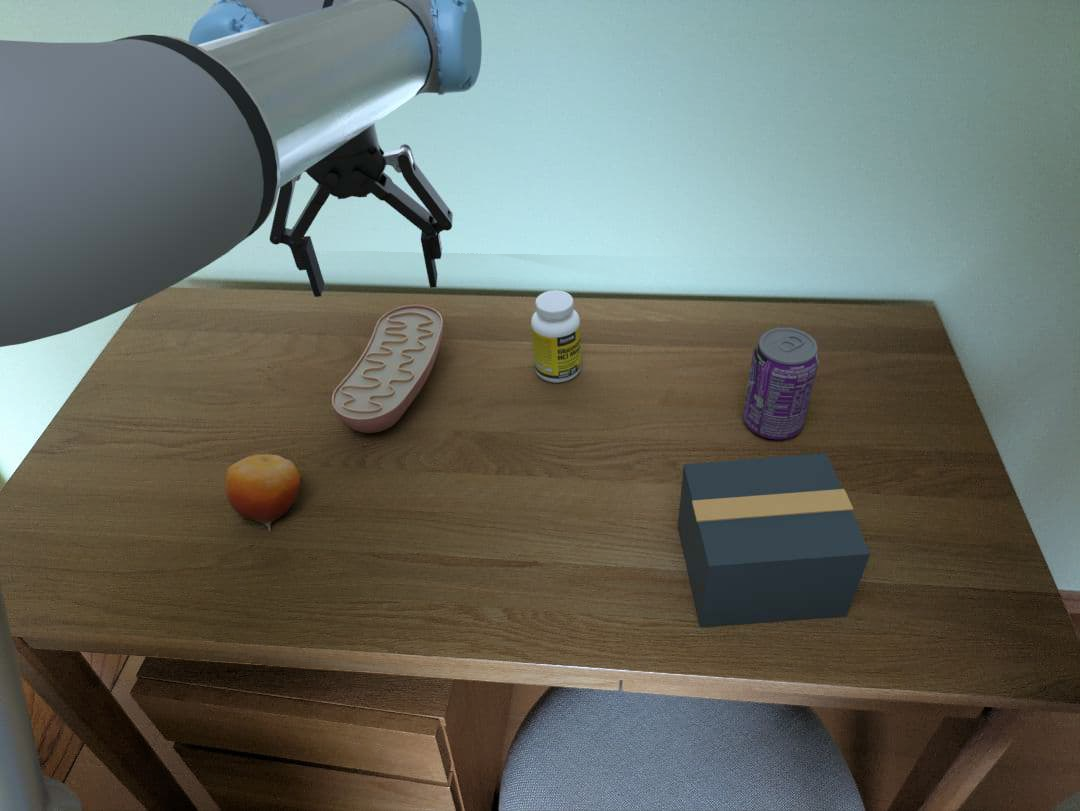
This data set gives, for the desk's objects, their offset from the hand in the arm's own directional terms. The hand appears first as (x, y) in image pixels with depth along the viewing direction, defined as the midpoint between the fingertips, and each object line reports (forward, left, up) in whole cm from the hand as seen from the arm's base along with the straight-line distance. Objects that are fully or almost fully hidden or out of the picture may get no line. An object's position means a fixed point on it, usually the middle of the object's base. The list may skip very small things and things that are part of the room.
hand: (376, 285), depth 92 cm
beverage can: (+46, -12, -16) cm, 50 cm away
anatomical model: (0, 0, -16) cm, 16 cm away
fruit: (-13, -19, -16) cm, 28 cm away
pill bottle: (+21, +1, -16) cm, 26 cm away
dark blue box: (+39, -33, -16) cm, 53 cm away
